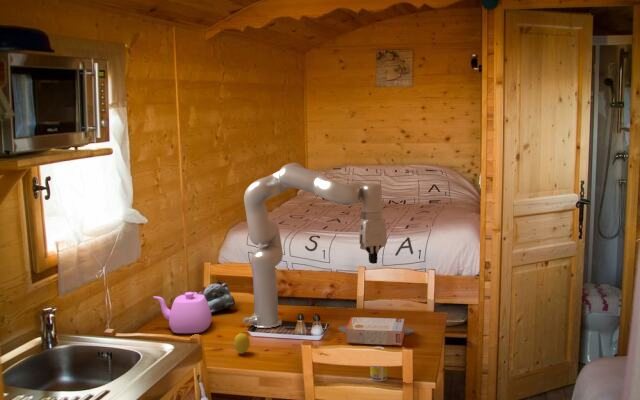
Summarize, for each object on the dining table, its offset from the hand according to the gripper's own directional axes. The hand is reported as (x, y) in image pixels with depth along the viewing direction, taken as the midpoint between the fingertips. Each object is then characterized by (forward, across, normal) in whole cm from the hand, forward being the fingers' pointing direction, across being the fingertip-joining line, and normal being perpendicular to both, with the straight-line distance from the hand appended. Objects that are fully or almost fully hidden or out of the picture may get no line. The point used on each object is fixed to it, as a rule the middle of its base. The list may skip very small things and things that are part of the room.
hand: (373, 262), depth 268 cm
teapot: (+27, -62, +41) cm, 79 cm away
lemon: (+27, -54, +4) cm, 60 cm away
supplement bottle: (+28, -23, -40) cm, 54 cm away
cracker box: (+24, -13, -2) cm, 27 cm away
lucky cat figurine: (+27, -44, +58) cm, 78 cm away
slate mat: (+28, +1, 0) cm, 28 cm away
